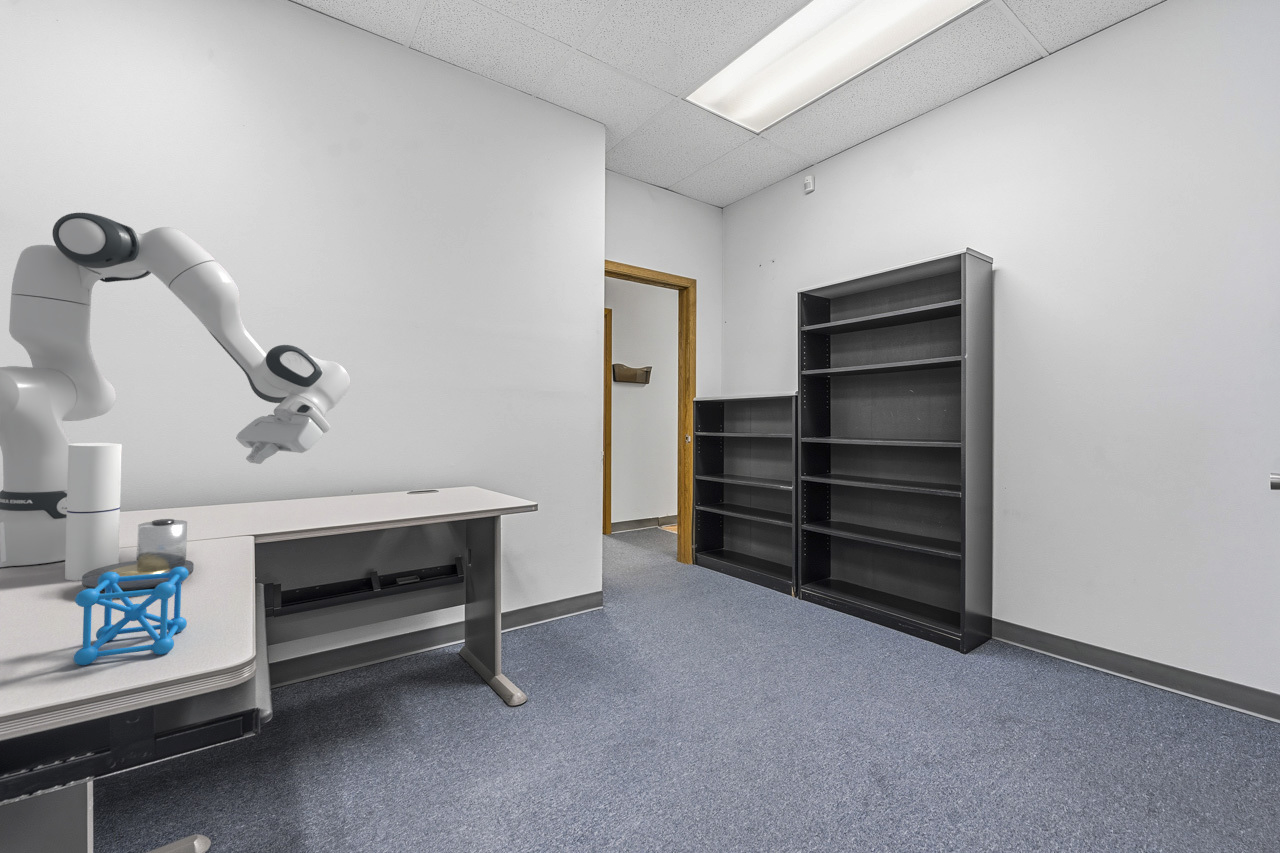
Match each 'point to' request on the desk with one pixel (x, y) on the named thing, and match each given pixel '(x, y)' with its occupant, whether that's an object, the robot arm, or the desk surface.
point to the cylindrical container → (92, 507)
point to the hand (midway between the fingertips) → (252, 461)
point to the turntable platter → (128, 570)
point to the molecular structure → (131, 614)
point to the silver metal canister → (161, 544)
